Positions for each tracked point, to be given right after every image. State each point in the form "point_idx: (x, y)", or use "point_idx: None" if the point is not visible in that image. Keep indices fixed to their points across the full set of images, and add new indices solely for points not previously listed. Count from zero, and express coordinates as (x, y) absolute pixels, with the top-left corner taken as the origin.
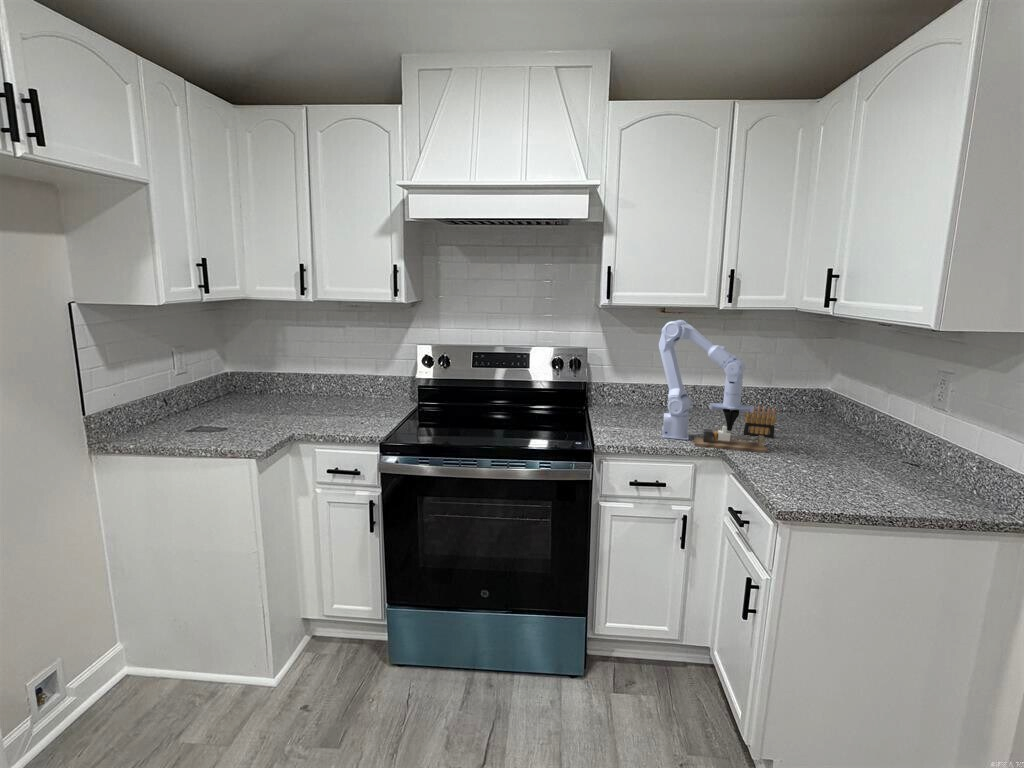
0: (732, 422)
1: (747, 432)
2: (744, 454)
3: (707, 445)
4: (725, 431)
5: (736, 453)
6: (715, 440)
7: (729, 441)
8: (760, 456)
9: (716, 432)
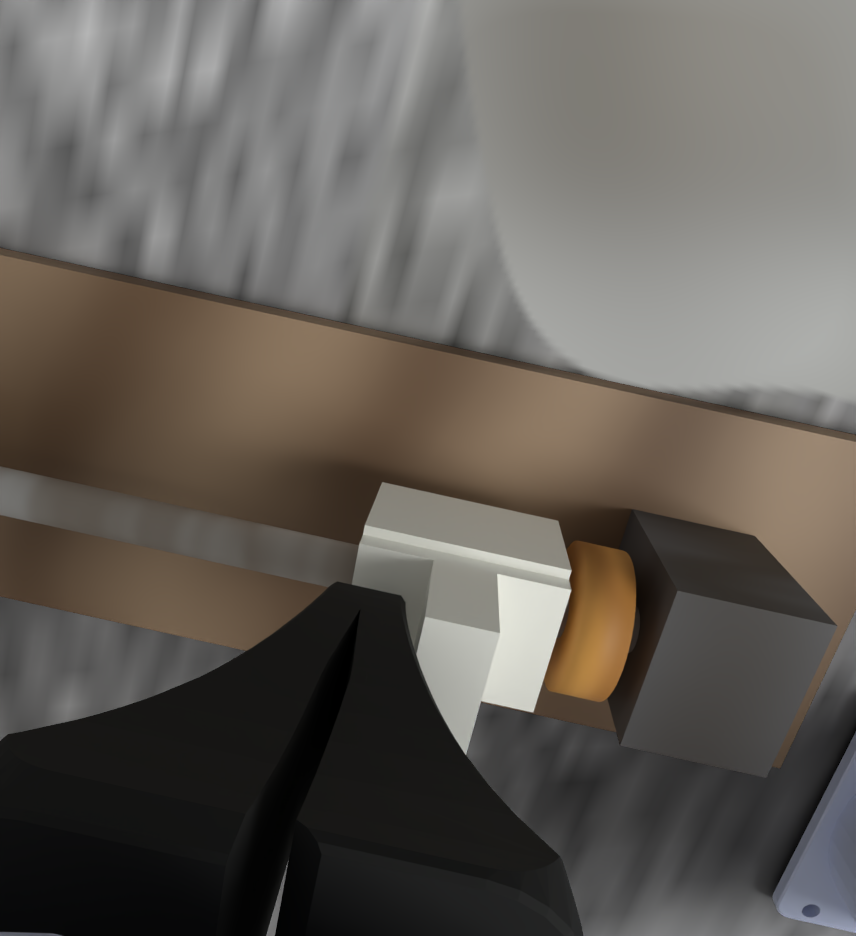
0: (285, 660)
1: None
2: (261, 112)
3: (737, 413)
4: (449, 578)
5: (372, 149)
6: None
7: None
8: (40, 36)
9: (597, 613)
